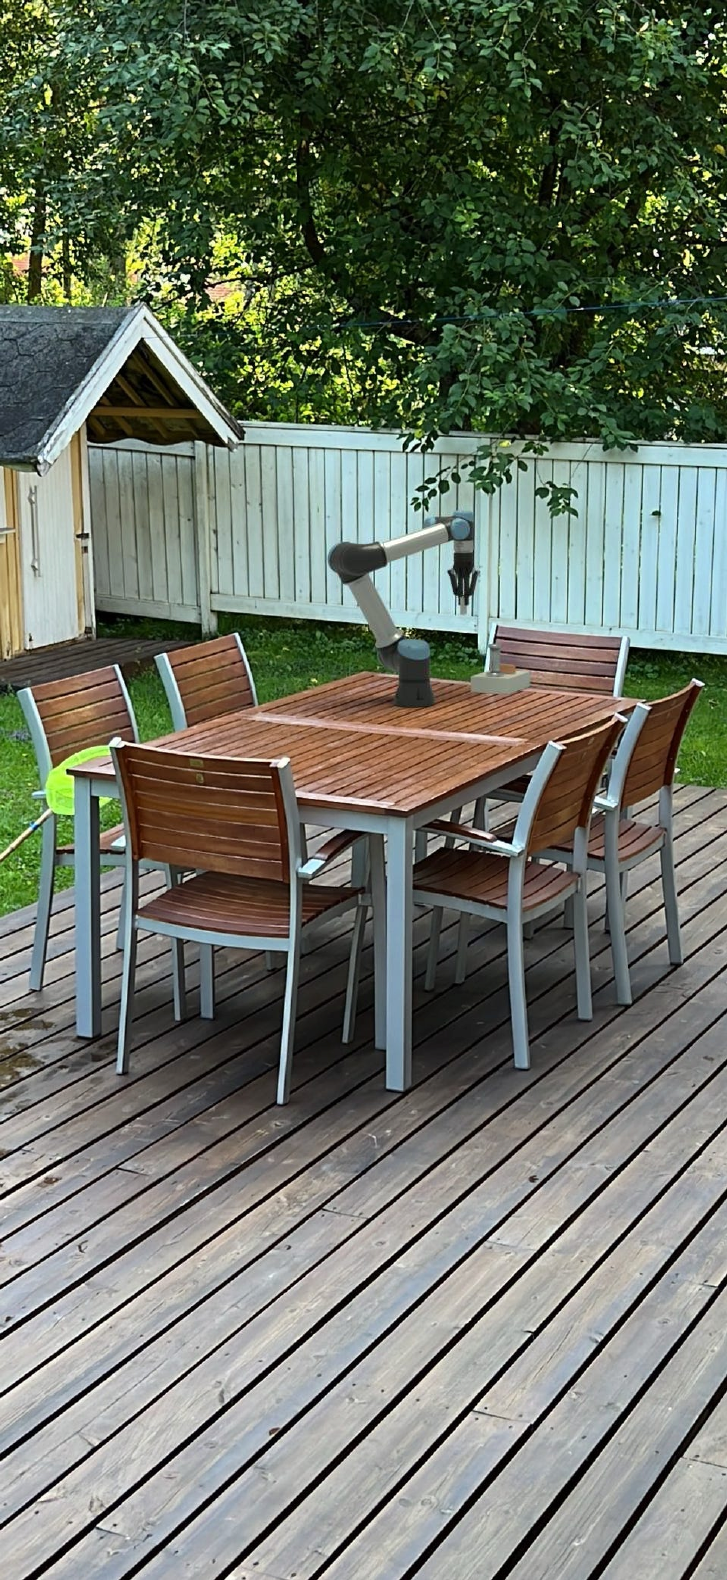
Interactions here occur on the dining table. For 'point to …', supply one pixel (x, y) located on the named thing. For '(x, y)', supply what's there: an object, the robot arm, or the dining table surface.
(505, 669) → the lock tab
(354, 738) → the dining table surface
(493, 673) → the grey flanged post
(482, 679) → the block
